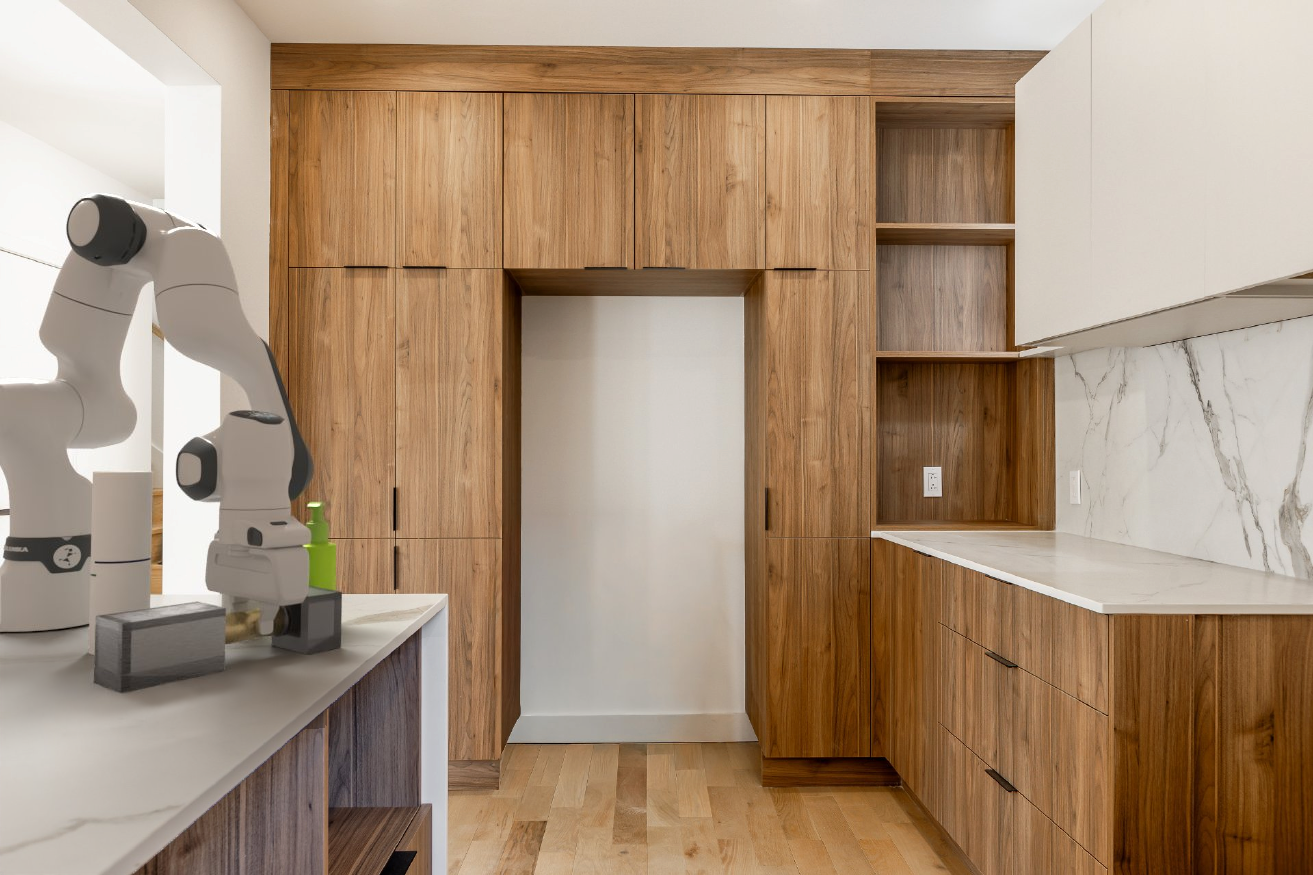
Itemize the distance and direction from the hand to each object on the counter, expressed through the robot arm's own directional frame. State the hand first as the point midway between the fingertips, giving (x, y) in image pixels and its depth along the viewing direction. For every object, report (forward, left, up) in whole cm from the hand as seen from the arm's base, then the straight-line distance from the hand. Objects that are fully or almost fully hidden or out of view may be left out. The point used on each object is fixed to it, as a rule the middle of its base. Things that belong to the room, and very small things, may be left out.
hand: (253, 630), depth 111 cm
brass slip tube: (0, -3, -1) cm, 4 cm away
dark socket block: (0, +8, -4) cm, 9 cm away
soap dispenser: (-11, +16, -4) cm, 20 cm away
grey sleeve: (0, -12, -4) cm, 12 cm away
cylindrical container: (-19, -9, -4) cm, 21 cm away
